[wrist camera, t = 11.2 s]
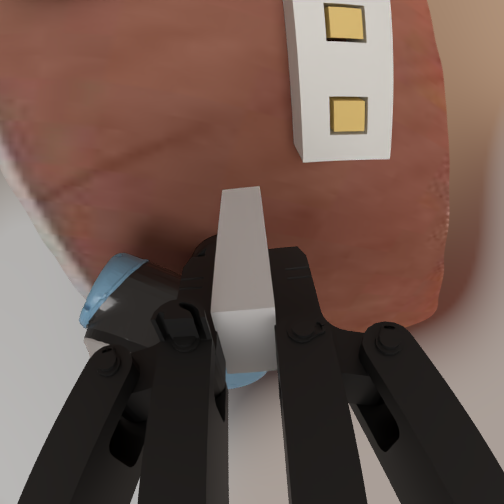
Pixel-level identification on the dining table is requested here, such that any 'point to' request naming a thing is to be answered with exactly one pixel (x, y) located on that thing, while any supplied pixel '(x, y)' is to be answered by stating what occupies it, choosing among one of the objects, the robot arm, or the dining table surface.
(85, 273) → the dining table surface
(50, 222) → the dining table surface
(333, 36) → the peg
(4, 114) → the dining table surface
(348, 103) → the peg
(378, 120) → the socket block
